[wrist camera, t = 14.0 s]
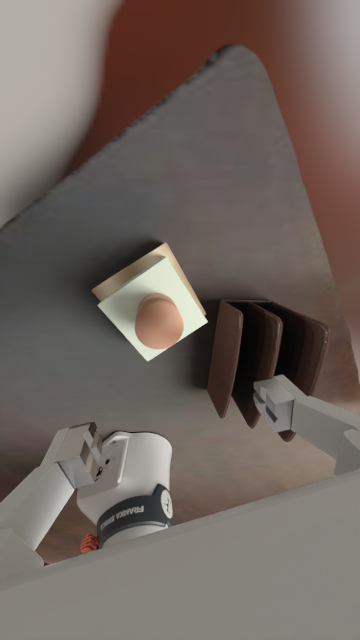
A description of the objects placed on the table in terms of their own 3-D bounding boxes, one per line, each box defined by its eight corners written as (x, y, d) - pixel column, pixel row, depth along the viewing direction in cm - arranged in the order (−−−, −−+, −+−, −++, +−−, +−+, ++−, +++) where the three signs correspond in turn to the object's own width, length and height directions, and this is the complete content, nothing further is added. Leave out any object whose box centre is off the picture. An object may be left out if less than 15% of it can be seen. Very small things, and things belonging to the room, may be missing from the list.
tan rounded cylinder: (156, 337, 25) (158, 357, 20) (128, 312, 23) (123, 327, 18) (184, 313, 24) (193, 327, 20) (158, 284, 22) (160, 293, 18)
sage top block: (147, 347, 30) (147, 361, 26) (104, 297, 26) (97, 305, 22) (200, 312, 29) (207, 321, 25) (163, 255, 25) (166, 257, 22)
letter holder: (270, 299, 34) (345, 330, 21) (249, 387, 41) (296, 451, 28) (219, 298, 33) (266, 330, 20) (205, 389, 39) (234, 459, 26)
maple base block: (142, 341, 34) (141, 352, 30) (98, 284, 29) (91, 289, 25) (199, 306, 33) (206, 314, 29) (163, 243, 28) (166, 242, 25)
